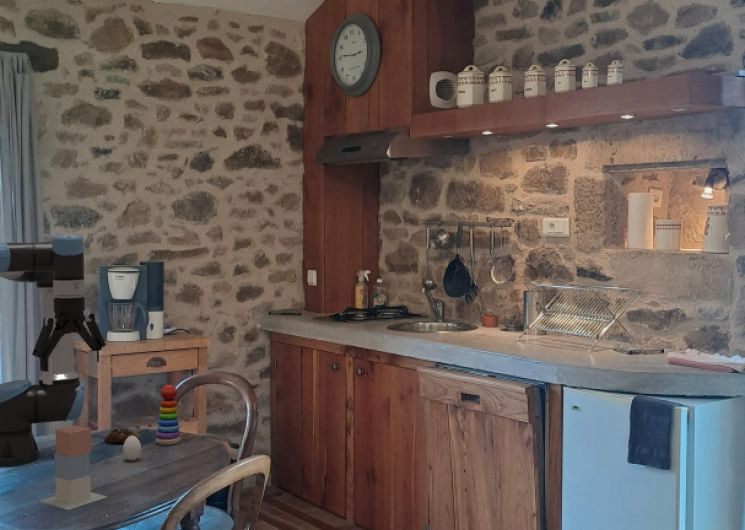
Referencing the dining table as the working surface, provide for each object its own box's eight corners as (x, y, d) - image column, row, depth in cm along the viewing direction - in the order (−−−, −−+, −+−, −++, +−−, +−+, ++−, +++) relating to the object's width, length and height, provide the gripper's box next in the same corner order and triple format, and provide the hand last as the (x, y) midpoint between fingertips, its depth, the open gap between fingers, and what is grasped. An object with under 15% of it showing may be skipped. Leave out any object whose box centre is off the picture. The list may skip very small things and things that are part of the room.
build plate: (38, 504, 222) (38, 500, 222) (77, 491, 232) (77, 488, 232) (68, 513, 215) (68, 509, 215) (107, 499, 225) (107, 496, 225)
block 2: (55, 476, 222) (54, 453, 222) (74, 471, 227) (74, 448, 227) (70, 480, 219) (69, 457, 219) (89, 474, 224) (89, 451, 224)
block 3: (55, 499, 223) (55, 476, 222) (75, 493, 228) (75, 471, 227) (70, 504, 219) (70, 480, 219) (90, 497, 224) (90, 474, 224)
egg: (144, 460, 261) (144, 436, 261) (128, 463, 258) (128, 439, 257) (136, 456, 265) (135, 432, 265) (119, 460, 261) (119, 435, 261)
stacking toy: (174, 446, 277) (173, 388, 275) (151, 445, 278) (150, 387, 277) (184, 440, 284) (184, 383, 283) (162, 438, 286) (161, 382, 285)
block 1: (56, 453, 222) (55, 430, 222) (76, 448, 227) (75, 425, 227) (71, 457, 219) (70, 433, 219) (91, 451, 224) (90, 428, 224)
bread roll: (108, 446, 276) (108, 430, 276) (101, 443, 286) (101, 428, 286) (143, 443, 281) (143, 428, 282) (135, 440, 291) (135, 425, 291)
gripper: (35, 301, 208) (37, 389, 209) (118, 293, 229) (119, 373, 230) (16, 299, 212) (18, 385, 214) (99, 291, 233) (101, 370, 234)
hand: (70, 379), depth 222 cm, fingers open, 13 cm apart
